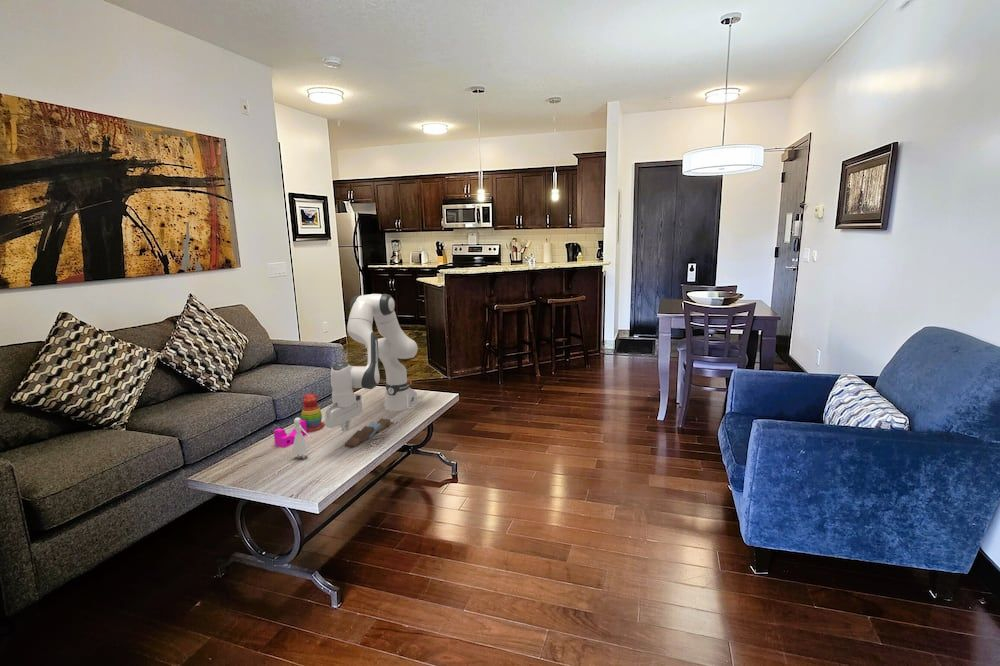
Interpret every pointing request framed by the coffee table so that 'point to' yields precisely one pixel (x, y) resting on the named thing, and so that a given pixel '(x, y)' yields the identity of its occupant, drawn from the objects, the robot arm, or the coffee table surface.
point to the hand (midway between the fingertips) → (345, 430)
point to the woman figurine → (299, 439)
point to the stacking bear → (312, 413)
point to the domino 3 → (376, 427)
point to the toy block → (289, 440)
